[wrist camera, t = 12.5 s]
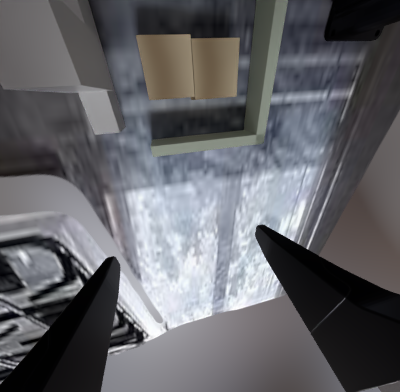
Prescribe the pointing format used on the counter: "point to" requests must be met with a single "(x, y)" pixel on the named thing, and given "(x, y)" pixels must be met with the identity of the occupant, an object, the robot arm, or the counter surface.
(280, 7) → the green u-shaped frame
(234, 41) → the chip
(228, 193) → the counter surface
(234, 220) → the counter surface
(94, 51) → the grey stepped block
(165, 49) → the chip
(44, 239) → the counter surface
